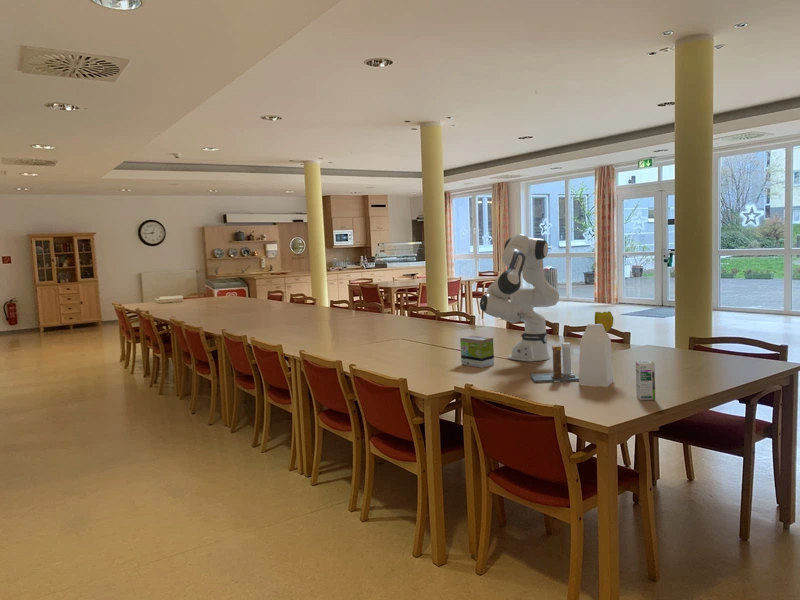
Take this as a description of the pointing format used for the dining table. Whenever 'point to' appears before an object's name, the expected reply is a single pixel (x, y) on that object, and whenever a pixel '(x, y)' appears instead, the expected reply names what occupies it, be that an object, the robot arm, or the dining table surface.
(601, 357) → the milk
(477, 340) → the tea box
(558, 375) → the walnut lever
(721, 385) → the dining table surface
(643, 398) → the syrup box
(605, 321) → the flower
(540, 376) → the control board
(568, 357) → the grey lever
